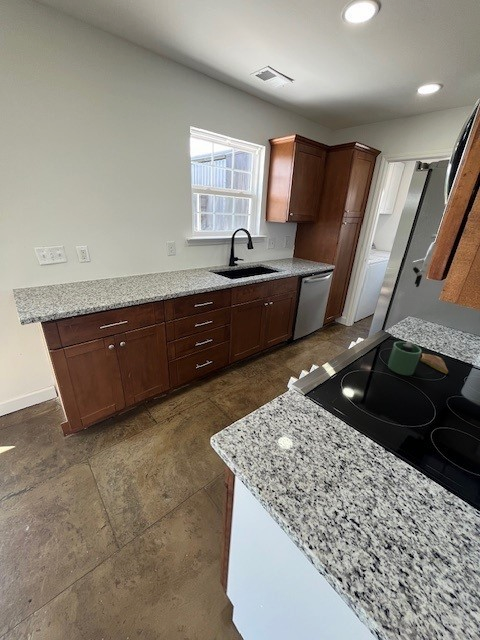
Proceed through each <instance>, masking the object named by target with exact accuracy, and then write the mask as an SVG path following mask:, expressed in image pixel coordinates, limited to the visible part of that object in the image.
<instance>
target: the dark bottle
mask: <svg viewBox="0 0 480 640" xmlns="http://www.w3.org/2000/svg"><path fill="white" fill-rule="evenodd" d="M406 342H407V344H404V345H403V348H402V350H403V351H405V352H410V353H411V352H412V349H413V346H411V344H413V341H412V340H411V339H407V341H406Z"/></svg>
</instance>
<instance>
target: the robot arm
mask: <svg viewBox="0 0 480 640" xmlns="http://www.w3.org/2000/svg"><path fill="white" fill-rule="evenodd" d="M436 234H437V233H435V234H434V233H432V234H431V237H430V238H431V239H433V240H435V238H436ZM434 242H435V241H433V242H431V244H430V246H429V247H428V249H427V252H426V255H425V257H424V258H421V259H417V260H414V261H412V262H411V267H412V270H413V272H414V273H415V275H416V278H415V280H414V284H415V288H419V287H420V284H421V281H422V278H423V274H425V273H428V272H427V268H428V264H429V261H430V258H431V255H432V251H433V247H434ZM420 264H422V267H421V269H419V268H418V265H420Z"/></svg>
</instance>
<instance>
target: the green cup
mask: <svg viewBox="0 0 480 640" xmlns="http://www.w3.org/2000/svg"><path fill="white" fill-rule="evenodd" d="M404 344H407V341H395V342H394V343H393V344H392V349H391V352H390V355H389V358H388V362H387V367H388V369H389V370H390V371H392V372H394V373H395V374H399V375H402V376H412V375H414V373H415V372H416V369H417V366H418V363H419V361H420V359H421V355H422V348H421V347H419V346H418V345H416V344H415V343H412V344H411V346H413V349H412V352H411V353H410V352H405V351H403V350H402V348H403V345H404Z"/></svg>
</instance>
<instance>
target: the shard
mask: <svg viewBox="0 0 480 640" xmlns="http://www.w3.org/2000/svg"><path fill="white" fill-rule="evenodd" d="M421 355H422V357H420V361H421V362H422V363H425V365H428V366H430V368H433V369H435V370H437V371H438V372H441V373H444V374H446V375H447V374H448V373H449V370H448V368H447V366H446V363H445V361H444V360H443V358H442V357H439V356H437V355H433V354H428V353H422V352H421Z"/></svg>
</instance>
